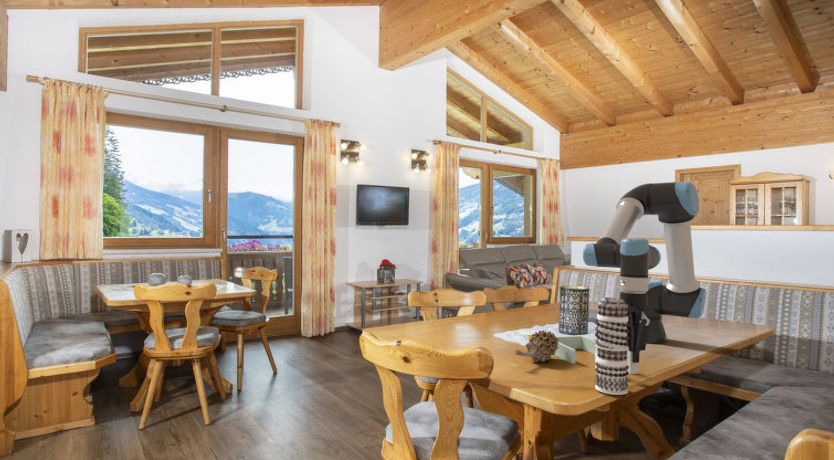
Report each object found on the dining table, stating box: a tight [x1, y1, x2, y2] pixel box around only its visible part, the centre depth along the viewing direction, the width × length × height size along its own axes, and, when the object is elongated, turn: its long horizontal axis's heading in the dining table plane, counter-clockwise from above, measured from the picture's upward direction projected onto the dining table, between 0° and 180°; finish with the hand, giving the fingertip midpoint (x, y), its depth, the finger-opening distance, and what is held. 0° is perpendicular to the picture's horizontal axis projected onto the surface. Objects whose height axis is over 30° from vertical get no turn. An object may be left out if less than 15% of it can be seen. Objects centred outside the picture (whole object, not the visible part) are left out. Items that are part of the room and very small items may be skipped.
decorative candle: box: [594, 297, 631, 396], centre depth 133 cm, size 9×9×25 cm
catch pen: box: [554, 335, 596, 365], centre depth 170 cm, size 15×19×4 cm
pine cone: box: [514, 330, 559, 364], centre depth 159 cm, size 22×10×10 cm, turn 138°
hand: (632, 372), depth 141 cm, fingers closed
